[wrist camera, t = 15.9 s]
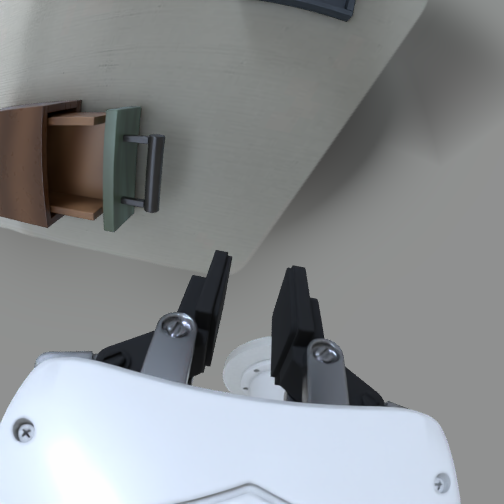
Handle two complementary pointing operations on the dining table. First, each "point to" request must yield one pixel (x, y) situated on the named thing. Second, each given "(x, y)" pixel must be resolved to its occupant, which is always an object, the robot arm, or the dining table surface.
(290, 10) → the dining table surface
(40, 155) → the cabinet
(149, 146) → the drawer
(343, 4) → the tray
